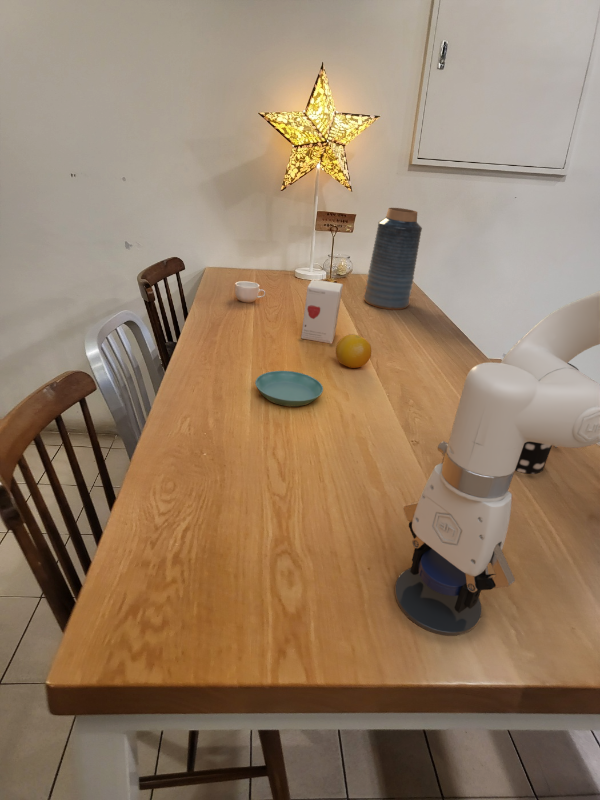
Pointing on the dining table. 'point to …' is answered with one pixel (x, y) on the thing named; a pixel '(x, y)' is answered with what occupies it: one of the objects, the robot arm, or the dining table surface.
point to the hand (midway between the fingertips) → (441, 586)
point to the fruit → (353, 351)
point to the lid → (440, 574)
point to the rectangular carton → (321, 311)
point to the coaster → (433, 607)
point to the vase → (393, 260)
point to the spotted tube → (533, 456)
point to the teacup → (247, 291)
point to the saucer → (289, 388)
